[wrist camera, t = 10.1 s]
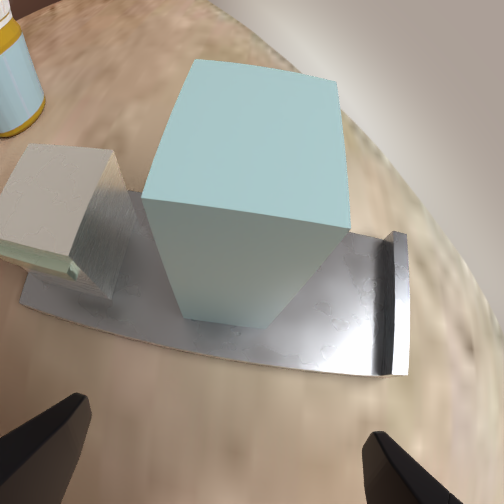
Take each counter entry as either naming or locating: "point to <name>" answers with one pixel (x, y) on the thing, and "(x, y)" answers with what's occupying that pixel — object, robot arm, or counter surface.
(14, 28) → the bottle
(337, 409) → the counter surface
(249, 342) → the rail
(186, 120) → the block
